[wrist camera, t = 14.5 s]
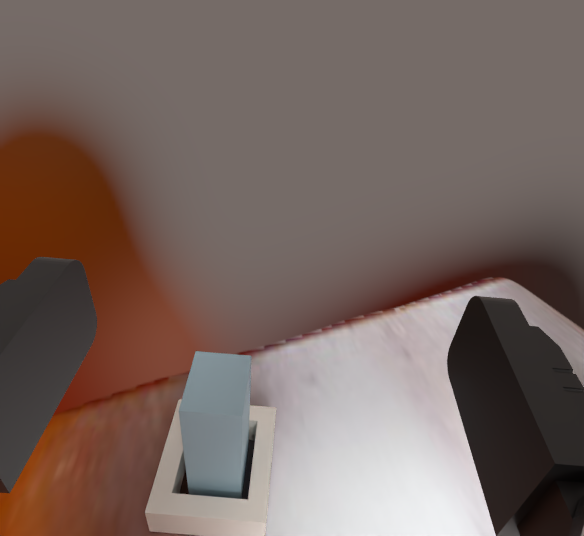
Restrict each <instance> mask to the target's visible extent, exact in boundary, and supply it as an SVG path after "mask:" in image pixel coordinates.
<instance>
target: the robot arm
mask: <svg viewBox="0 0 584 536" xmlns="http://www.w3.org/2000/svg"><path fill="white" fill-rule="evenodd" d="M96 328H97V317H96V312H95V308H94V304H93V300H92V296H91V293H90V289H89V285H88V281H87V277H86V273H85V270H84V267H83V265H82V263H81V262H80V261H78V260H69V259H59V258H47V257H38V258H36V259H34V260H33V261H32V262H31V263H30V265H29V266H28V267H27V268H26V269H25V270H24V272H23V273H22V274H21V275H20V276H19V277H18V278H17V279H16V280H10V279H9V280H7V281H6V282H4V283H2V284H1V285H0V492H1V493H10V492H11V490H12V488H13V486H14V485H15V483H16V481H17V479H18V477H19V475H20V474H21V472H22V470H23V468H24V466H25V465H26V463H27V461H28V459H29V457H30V456H31V454H32V452H33V450H34V448H35V446H36V445H37V443H38V441H39V439H40V437H41V436H42V434H43V432H44V430H45V428H46V427H47V425H48V423H49V421H50V419H51V418H52V416H53V414H54V412H55V410H56V408H57V406H58V405H59V403H60V401H61V399H62V398H63V396H64V394H65V392H66V390H67V388H68V387H69V385H70V383H71V381H72V379H73V378H74V376H75V374H76V372H77V370H78V368H79V367H80V365H81V363H82V361H83V360H84V357H85V356H86V354H87V352H88V350H89V349H90V347H91V345H92V343H93V340H94V337H95V334H96ZM447 367H448V375H449V379H450V382H451V385H452V389H453V392H454V396H455V399H456V402H457V406H458V409H459V412H460V416H461V419H462V422H463V426H464V429H465V433H466V436H467V439H468V443H469V446H470V449H471V453H472V456H473V460H474V463H475V466H476V470H477V473H478V476H479V480H480V483H481V486H482V490H483V493H484V497H485V500H486V503H487V507H488V510H489V513H490V517H491V520H492V524H493V527H494V530H495V534H496V536H584V387H583V386H582V384H581V382H580V381H579V379H578V377H577V375H576V374H573V369H572V367H571V365H570V364H569V362H568V360H567V358H566V357H565V355H564V353H563V352H562V350H561V348H560V347H559V346H558V345H557V344H556V343H555V342H554V341H553V340H552V339H551V338H550V337H549V336H547V335H546V334H545V333H544V332H543V331H542V330H541V329H540V328H539V327H535V326H529V324H528V322H527V321H526V319H525V317H524V315H523V313H522V311H521V309H520V308H519V306H518V304H517V303H516V302H515V301H514V300H512V299H503V298H491V297H480V296H474V297H472V298H471V299H470V301H469V302H468V304H467V307H466V309H465V311H464V314H463V316H462V319H461V321H460V323H459V326H458V328H457V331H456V333H455V335H454V338H453V340H452V343H451V345H450V348H449V352H448V359H447Z"/></svg>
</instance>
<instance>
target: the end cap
mask: <svg viewBox="0 0 584 536" xmlns="http://www.w3.org/2000/svg"><path fill="white" fill-rule="evenodd" d="M181 401H182V399H179V400H178V403H177V407H176V410H175V413H174V417H173V420H172V423H171V427H170V430H169V433H168V437H167V440H166V443H165V447H164V450H163V453H162V457H161V460H160V464H159V467H158V470H157V474H156V477H155V480H154V484H153V487H152V490H151V494H150V497H149V500H148V504H147V507H146V510H145V515H146V519H147V523H148V527H149V531H150V532H162V533H174V534H186V535H198V536H265V532H266V521H267V510H268V498H269V487H270V475H271V464H272V452H273V441H274V429H275V418H276V407H265V406H253V405H250V415H249V440H253V441H255V446H254V454H253V462H252V470H251V478H250V486H249V494H248V499H236V498H224V497H213V496H201V495H189V494H180V490H181V486H182V482H183V478H184V474H185V470H186V467H185V459H184V451H183V443H182V434H181V426H180V418H179V408H180V404H181Z"/></svg>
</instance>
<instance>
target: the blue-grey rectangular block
mask: <svg viewBox="0 0 584 536" xmlns="http://www.w3.org/2000/svg"><path fill="white" fill-rule="evenodd" d="M251 357H252V356H247V355H235V354H223V353H211V352H200V351H196V352H195V356H194V359H193V363H192V366H191V370H190V373H189V376H188V380H187V383H186V387H185V390H184V394H183V397H182V401H181V404H180V408H179V418H180V426H181V434H182V443H183V451H184V459H185V467H186V475H187V483H188V491H189V495H201V496H213V497H224V498H236V499H242V493H243V486H244V478H245V471H246V463H247V455H248V445H249V415H250V386H251Z"/></svg>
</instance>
